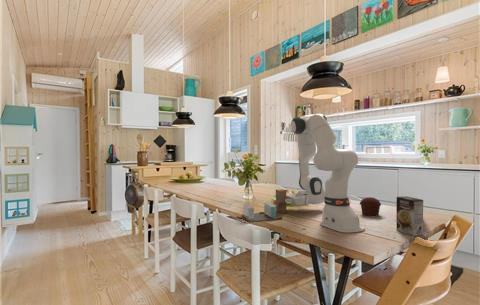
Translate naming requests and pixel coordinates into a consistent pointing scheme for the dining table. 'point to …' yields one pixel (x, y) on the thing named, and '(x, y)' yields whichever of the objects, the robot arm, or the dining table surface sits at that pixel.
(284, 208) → the walnut block
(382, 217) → the dining table surface
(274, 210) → the sliding jaw
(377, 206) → the muffin
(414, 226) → the coffee box
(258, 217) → the vise
